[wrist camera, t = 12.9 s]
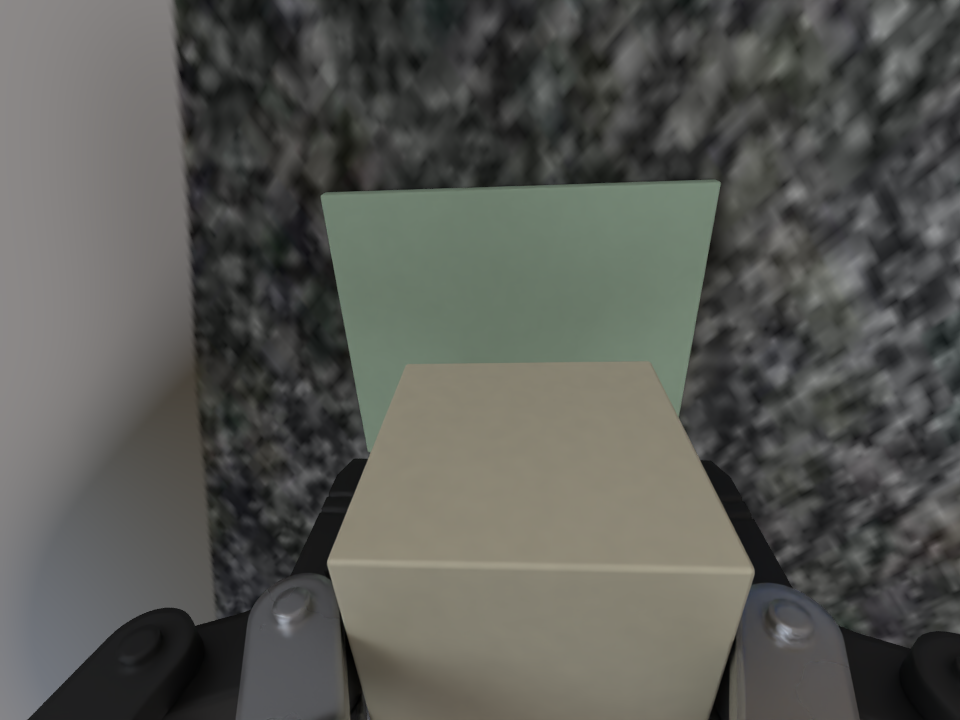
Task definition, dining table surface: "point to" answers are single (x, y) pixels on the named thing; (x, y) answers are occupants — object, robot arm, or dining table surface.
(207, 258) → the dining table surface
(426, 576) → the block
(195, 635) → the robot arm
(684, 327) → the mat
